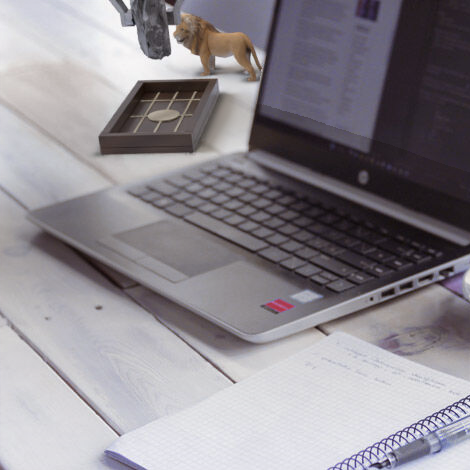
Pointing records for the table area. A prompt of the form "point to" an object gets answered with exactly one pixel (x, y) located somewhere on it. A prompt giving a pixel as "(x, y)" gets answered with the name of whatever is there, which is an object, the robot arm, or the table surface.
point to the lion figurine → (215, 44)
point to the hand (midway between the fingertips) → (152, 25)
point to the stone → (152, 27)
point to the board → (160, 117)
